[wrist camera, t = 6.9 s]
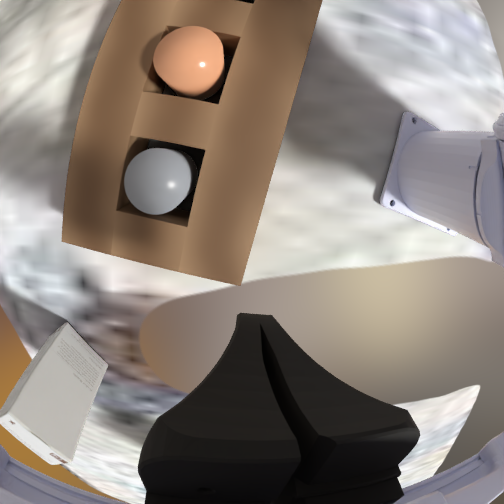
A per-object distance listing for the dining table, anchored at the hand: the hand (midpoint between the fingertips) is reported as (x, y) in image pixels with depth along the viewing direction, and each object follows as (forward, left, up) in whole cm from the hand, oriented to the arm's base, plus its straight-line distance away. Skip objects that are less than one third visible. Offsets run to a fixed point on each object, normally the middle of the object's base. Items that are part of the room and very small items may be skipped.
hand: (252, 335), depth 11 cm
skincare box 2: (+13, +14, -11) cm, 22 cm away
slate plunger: (+6, -4, -10) cm, 12 cm away
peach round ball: (+6, -11, -10) cm, 16 cm away
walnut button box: (+6, -11, -10) cm, 16 cm away
